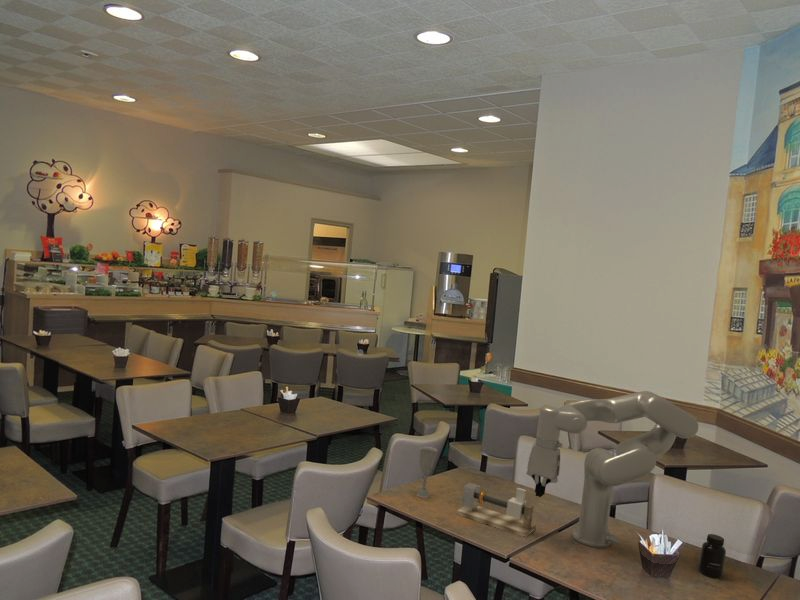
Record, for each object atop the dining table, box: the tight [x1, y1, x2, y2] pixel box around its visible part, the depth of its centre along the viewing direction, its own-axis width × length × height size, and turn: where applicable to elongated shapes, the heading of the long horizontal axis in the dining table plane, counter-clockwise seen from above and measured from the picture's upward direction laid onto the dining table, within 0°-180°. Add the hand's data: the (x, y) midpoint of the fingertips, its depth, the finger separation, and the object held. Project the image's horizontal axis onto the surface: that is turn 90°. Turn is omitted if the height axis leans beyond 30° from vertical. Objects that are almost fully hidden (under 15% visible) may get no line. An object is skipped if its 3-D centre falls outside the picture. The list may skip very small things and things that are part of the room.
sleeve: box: [505, 487, 527, 520], centre depth 221 cm, size 5×5×10 cm
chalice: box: [416, 445, 438, 499], centre depth 242 cm, size 7×7×18 cm
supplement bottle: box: [698, 533, 727, 579], centre depth 201 cm, size 7×7×12 cm
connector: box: [460, 482, 487, 512], centre depth 229 cm, size 7×5×8 cm
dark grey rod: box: [475, 492, 525, 513], centre depth 225 cm, size 21×2×2 cm, turn 58°
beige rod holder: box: [456, 504, 537, 538], centre depth 225 cm, size 26×10×9 cm, turn 58°
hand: (539, 495), depth 216 cm, fingers closed
